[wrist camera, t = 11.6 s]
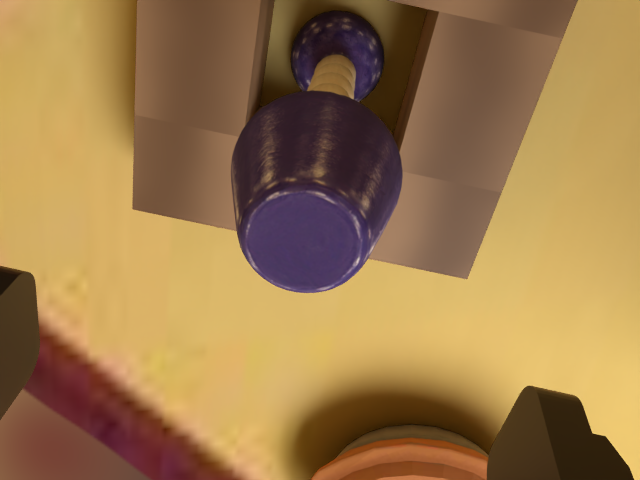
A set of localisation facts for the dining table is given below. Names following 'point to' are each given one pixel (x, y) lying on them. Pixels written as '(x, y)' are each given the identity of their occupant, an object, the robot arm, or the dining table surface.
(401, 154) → the socket block
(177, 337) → the dining table surface
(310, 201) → the toy lamp
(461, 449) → the pie
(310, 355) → the dining table surface
